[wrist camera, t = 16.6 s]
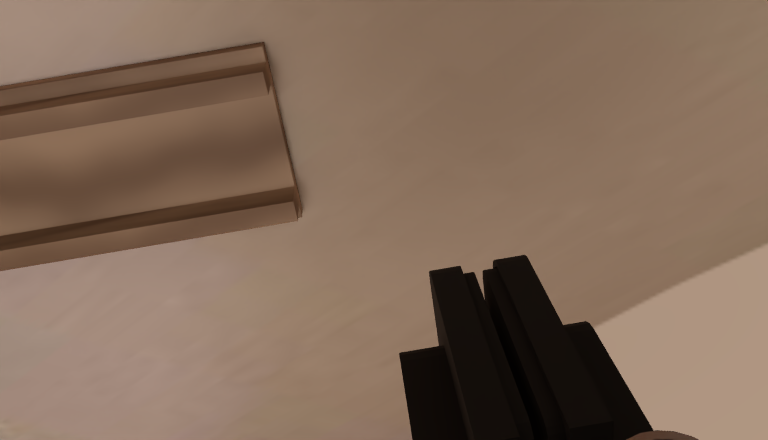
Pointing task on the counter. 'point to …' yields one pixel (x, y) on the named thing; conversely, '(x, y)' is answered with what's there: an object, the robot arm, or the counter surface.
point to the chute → (142, 157)
